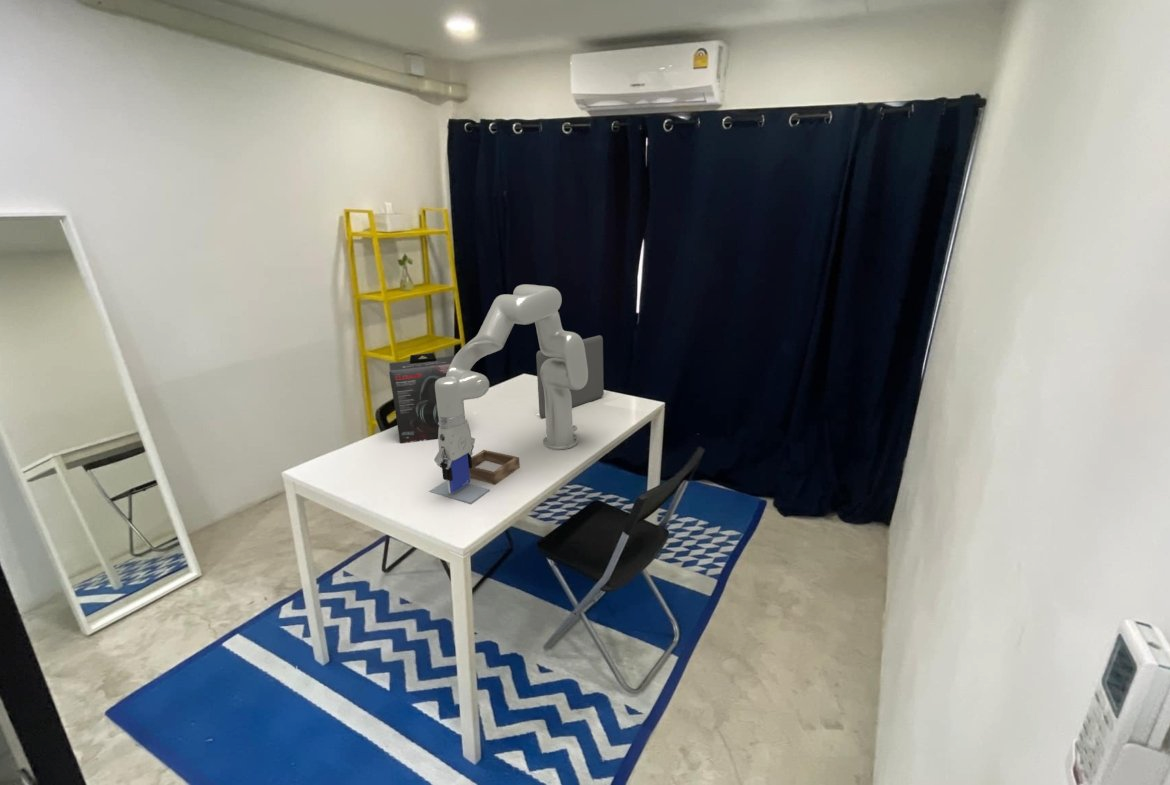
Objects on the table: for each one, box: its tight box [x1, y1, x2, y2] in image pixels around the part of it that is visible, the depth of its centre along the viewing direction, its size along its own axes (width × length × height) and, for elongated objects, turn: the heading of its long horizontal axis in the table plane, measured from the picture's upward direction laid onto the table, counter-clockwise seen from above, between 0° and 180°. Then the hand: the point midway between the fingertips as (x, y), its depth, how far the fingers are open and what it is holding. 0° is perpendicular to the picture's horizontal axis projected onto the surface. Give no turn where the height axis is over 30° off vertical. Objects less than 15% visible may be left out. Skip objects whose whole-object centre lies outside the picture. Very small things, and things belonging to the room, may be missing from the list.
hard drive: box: [444, 453, 471, 493], centre depth 166 cm, size 2×8×12 cm, turn 148°
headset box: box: [388, 352, 455, 444], centre depth 206 cm, size 24×13×33 cm, turn 109°
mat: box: [428, 480, 491, 505], centre depth 169 cm, size 9×16×1 cm, turn 62°
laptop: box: [535, 334, 605, 419], centre depth 242 cm, size 38×29×29 cm
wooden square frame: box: [469, 449, 521, 486], centre depth 181 cm, size 13×14×4 cm
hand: (458, 473), depth 167 cm, fingers closed on hard drive, 8 cm apart
